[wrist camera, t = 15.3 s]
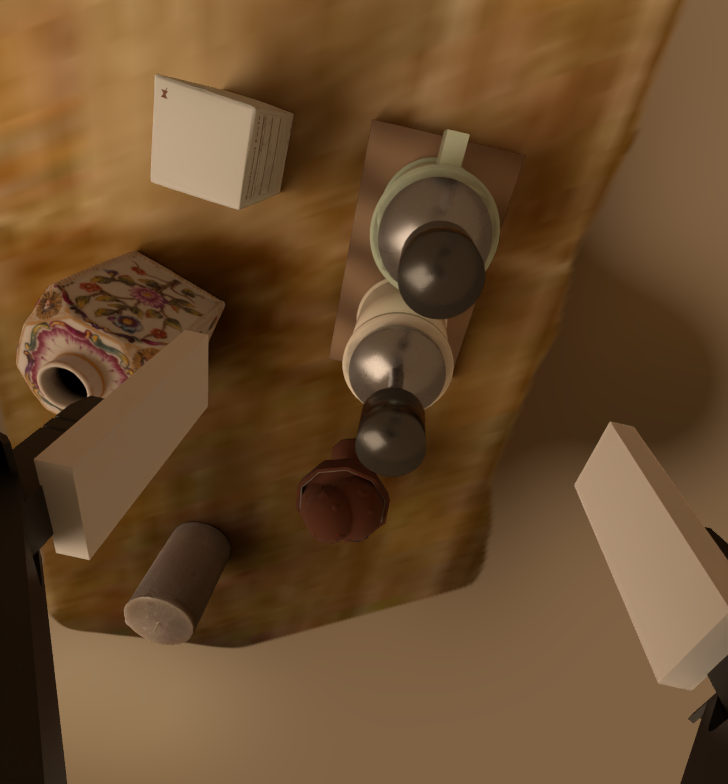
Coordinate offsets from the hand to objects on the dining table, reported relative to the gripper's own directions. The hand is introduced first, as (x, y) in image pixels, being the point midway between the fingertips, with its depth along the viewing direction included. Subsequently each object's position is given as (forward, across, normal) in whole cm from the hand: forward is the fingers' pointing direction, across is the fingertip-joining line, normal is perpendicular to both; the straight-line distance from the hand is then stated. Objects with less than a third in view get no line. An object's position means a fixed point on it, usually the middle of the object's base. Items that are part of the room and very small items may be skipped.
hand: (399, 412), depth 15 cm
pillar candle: (+35, -22, -54) cm, 68 cm away
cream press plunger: (+22, +1, -10) cm, 24 cm away
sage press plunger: (+22, +1, +1) cm, 22 cm away
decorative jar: (+36, -26, -16) cm, 47 cm away
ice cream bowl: (+36, -1, -30) cm, 47 cm away
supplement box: (+36, -17, +4) cm, 40 cm away
